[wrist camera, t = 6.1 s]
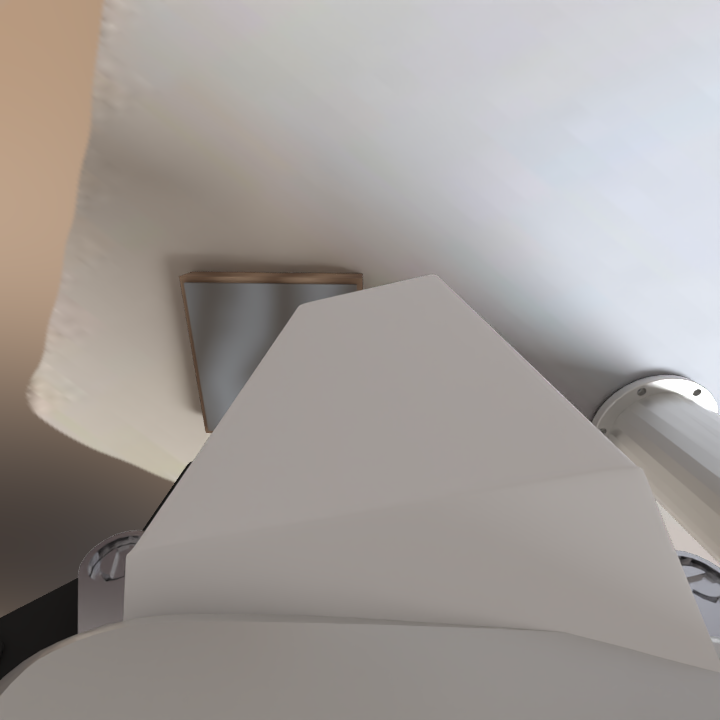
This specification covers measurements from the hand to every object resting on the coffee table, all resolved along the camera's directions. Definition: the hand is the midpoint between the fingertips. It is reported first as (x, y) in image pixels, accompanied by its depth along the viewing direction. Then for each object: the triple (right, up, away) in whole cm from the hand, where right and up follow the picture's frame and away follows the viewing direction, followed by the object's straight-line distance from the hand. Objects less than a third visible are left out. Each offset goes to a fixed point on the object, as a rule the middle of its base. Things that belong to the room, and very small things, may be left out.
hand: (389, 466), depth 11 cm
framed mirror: (-9, +4, +27) cm, 28 cm away
